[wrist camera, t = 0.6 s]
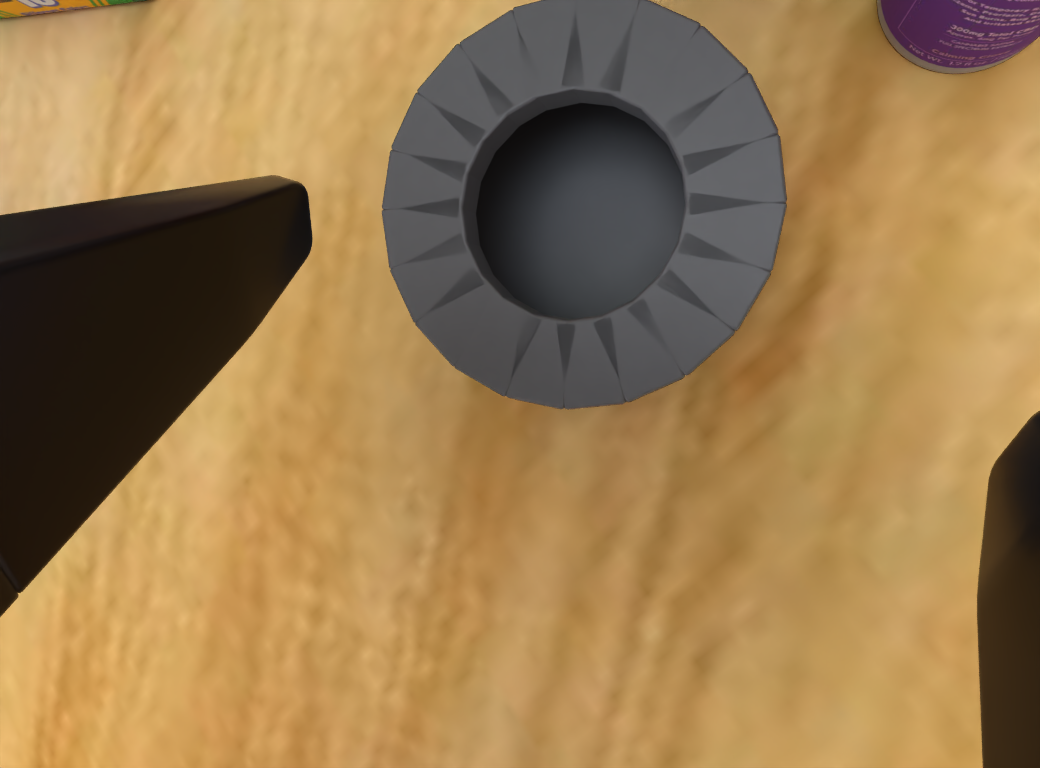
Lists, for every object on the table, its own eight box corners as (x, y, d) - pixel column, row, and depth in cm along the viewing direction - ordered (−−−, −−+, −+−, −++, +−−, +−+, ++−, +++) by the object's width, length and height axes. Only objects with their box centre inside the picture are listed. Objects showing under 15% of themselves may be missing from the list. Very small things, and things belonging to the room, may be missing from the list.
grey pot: (784, 369, 22) (807, 385, 17) (474, 403, 25) (410, 426, 20) (747, 34, 22) (759, -58, 16) (434, 106, 24) (357, 47, 19)
